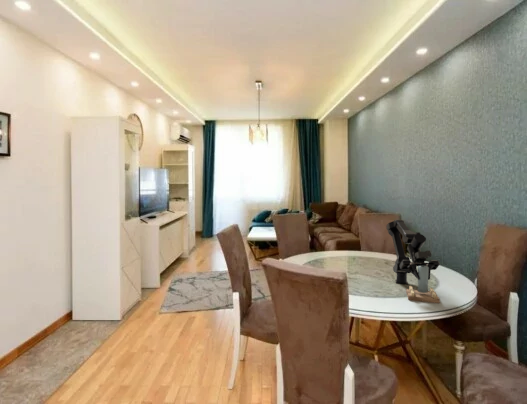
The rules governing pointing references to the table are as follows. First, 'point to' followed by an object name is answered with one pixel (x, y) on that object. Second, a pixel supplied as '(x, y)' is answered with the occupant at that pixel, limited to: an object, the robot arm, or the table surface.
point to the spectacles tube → (423, 278)
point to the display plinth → (422, 295)
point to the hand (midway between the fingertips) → (424, 279)
